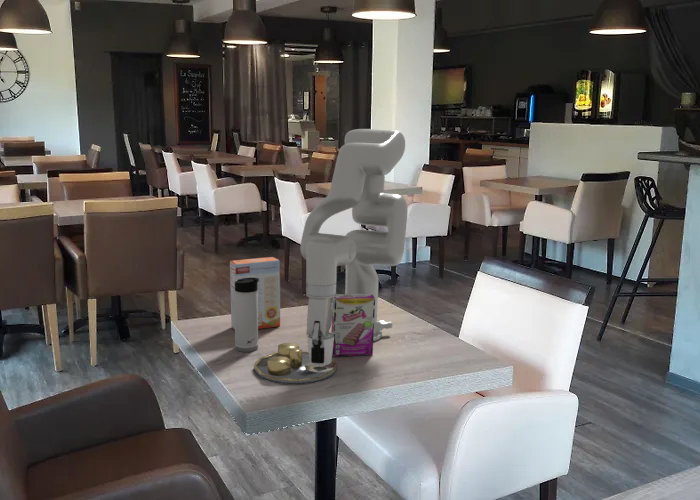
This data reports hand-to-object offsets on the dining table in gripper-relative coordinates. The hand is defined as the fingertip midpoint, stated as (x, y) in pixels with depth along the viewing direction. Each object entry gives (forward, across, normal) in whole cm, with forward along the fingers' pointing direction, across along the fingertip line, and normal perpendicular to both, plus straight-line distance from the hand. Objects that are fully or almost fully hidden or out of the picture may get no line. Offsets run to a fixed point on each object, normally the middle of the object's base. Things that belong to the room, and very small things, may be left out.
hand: (320, 357), depth 176 cm
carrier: (+4, 0, -6) cm, 7 cm away
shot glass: (+1, 0, 0) cm, 1 cm away
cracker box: (+4, -31, -26) cm, 41 cm away
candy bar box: (+4, -14, +6) cm, 16 cm away
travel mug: (+4, -12, -23) cm, 26 cm away
